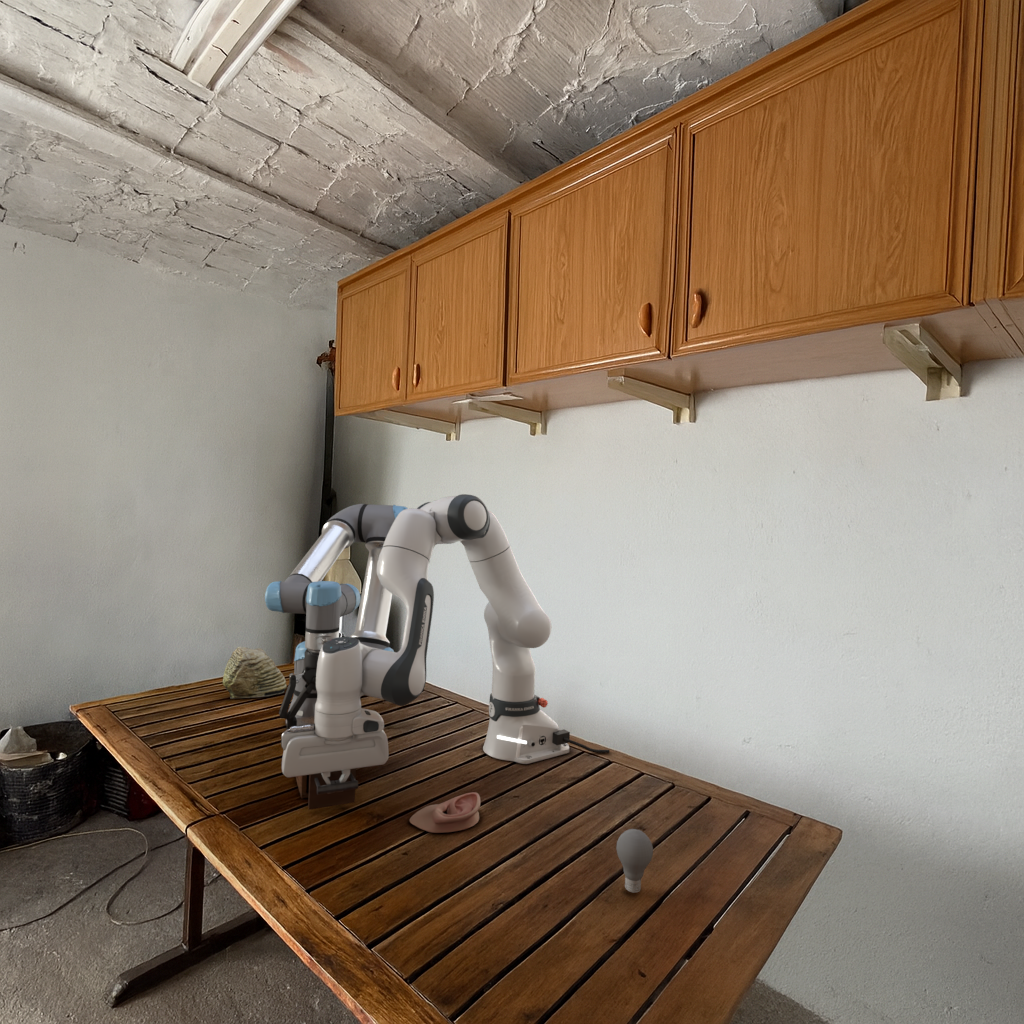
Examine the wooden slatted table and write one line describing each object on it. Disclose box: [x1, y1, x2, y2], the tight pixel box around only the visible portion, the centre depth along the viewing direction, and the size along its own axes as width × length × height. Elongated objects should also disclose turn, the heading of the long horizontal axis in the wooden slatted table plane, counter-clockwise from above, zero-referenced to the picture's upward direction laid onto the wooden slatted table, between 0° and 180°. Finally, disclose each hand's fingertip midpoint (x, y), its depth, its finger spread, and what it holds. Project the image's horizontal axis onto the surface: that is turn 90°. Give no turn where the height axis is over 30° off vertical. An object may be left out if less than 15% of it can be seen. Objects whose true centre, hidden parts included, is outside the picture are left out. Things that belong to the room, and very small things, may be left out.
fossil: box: [222, 646, 288, 699], centre depth 198 cm, size 9×18×15 cm, turn 132°
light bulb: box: [615, 828, 654, 894], centre depth 106 cm, size 6×6×10 cm
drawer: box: [307, 768, 359, 811], centre depth 133 cm, size 22×9×9 cm, turn 25°
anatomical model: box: [409, 791, 481, 834], centre depth 126 cm, size 13×4×12 cm
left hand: (318, 744), depth 147 cm, fingers closed on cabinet, 10 cm apart
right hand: (335, 791), depth 125 cm, fingers closed, pressing on drawer
